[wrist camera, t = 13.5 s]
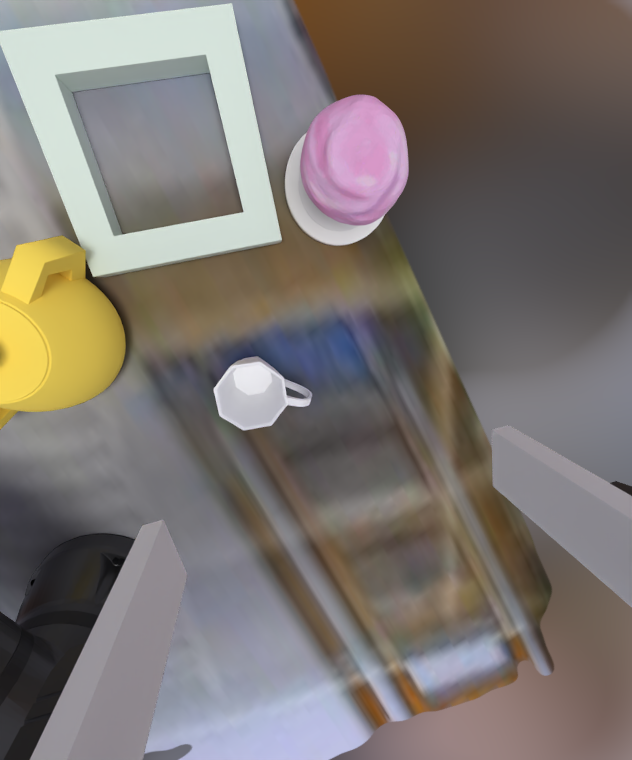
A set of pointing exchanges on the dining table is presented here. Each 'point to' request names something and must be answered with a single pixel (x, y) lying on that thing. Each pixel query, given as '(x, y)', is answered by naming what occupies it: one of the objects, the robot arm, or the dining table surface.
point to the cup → (255, 394)
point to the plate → (317, 210)
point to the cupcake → (355, 160)
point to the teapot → (54, 330)
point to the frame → (128, 66)
